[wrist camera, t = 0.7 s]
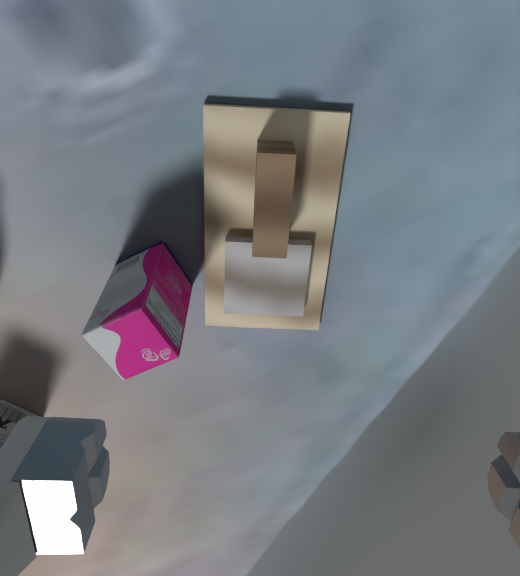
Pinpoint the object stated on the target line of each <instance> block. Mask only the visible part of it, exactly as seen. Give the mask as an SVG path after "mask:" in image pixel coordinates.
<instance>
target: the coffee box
mask: <svg viewBox="0 0 520 576" xmlns="http://www.w3.org/2000/svg"><path fill="white" fill-rule="evenodd" d="M26 416H36V417H41V416H38V415H36V414H34V413H32V412H29V411H27V410H25V409H23V408H20V407H18V406H16V405H14V404H11V403H9V402H7V401H5V400H2V399H0V449H1V448H2V446H3V445H4V443H5V442H6V440H7V439H8V437H9V436H10V434H11V433H12V431H13V430H14V428H15V427H16V425H17V424H18V422H19V421H20V420H21V419H23V418H24V417H26Z"/></svg>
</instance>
